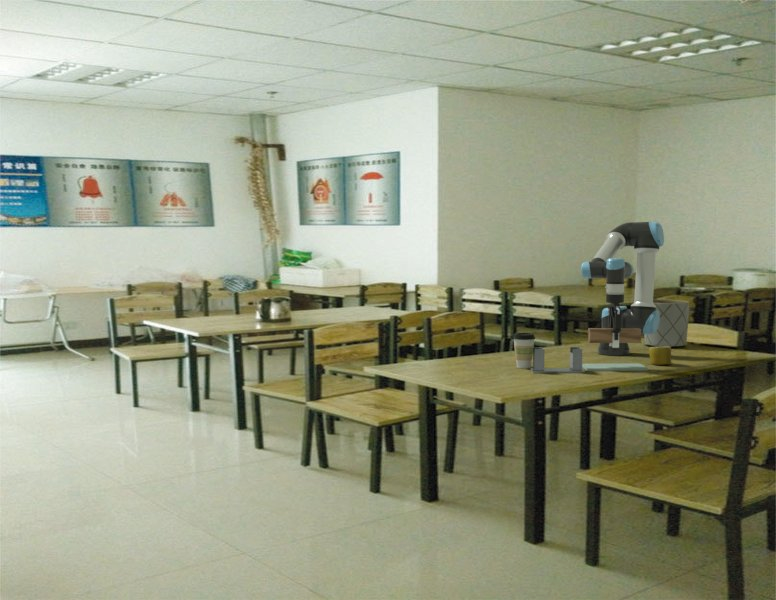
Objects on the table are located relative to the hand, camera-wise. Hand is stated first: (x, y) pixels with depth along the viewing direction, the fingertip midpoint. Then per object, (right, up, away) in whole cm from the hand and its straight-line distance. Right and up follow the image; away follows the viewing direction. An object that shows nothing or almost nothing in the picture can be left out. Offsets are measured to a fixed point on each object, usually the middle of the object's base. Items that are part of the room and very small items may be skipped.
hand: (614, 346), depth 331 cm
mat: (0, -10, +1) cm, 10 cm away
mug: (+24, -9, +11) cm, 27 cm away
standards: (-26, -10, -5) cm, 28 cm away
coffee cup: (-39, -10, +6) cm, 40 cm away
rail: (0, +2, 0) cm, 2 cm away
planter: (+46, -4, +65) cm, 80 cm away
